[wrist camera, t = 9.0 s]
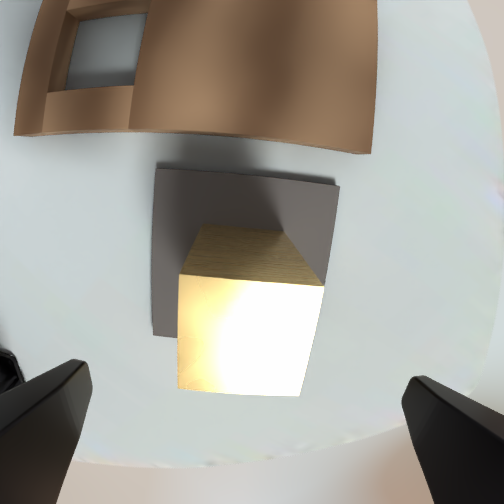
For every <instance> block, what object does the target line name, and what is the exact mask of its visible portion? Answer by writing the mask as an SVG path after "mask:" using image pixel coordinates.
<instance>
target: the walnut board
mask: <svg viewBox="0 0 504 504" xmlns="http://www.w3.org/2000/svg"><path fill="white" fill-rule="evenodd" d="M142 13H148V15H147V19H146V23H145V28H144V32H143V37H142V42H141V47H140V52H139V57H138V63H137V69H136V75H135V81H134V85H130V86H109V87H95V88H84V89H74V90H66V91H65V86H66V80H67V75H68V69H69V64H70V59H71V55H72V50H73V46H74V42H75V38H76V34H77V30H78V26H79V23H80V21H86V20H92V19H98V18H105V17H112V16H121V15H130V14H142ZM377 46H378V21H377V0H43V1H42V4H41V7H40V10H39V13H38V16H37V19H36V23H35V26H34V29H33V33H32V36H31V40H30V44H29V48H28V52H27V56H26V60H25V65H24V69H23V74H22V79H21V84H20V90H19V96H18V103H17V110H16V117H15V126H14V136H29V137H33V136H45V135H58V134H76V133H104V132H152V133H181V134H200V135H215V136H227V137H239V138H249V139H258V140H267V141H275V142H283V143H291V144H298V145H305V146H311V147H318V148H324V149H330V150H336V151H341V152H347V153H352V154H371V147H372V137H373V126H374V113H375V99H376V80H377Z"/></svg>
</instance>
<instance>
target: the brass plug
mask: <svg viewBox="0 0 504 504" xmlns="http://www.w3.org/2000/svg"><path fill="white" fill-rule="evenodd" d="M323 290H324V286H323V285H322V283H321V282H320V280H319V279H318V278H317V276H316V275H315V273H314V272H313V271H312V269H311V268H310V266H309V265H308V264H307V262H306V261H305V259H304V258H303V257H302V255H301V254H300V253H299V251H298V250H297V248H296V247H295V246H294V244H293V243H292V242H291V240H290V239H289V238H288V236H287V235H286V234H285V232H283V231H274V230H264V229H255V228H245V227H235V226H224V225H214V224H203V225H202V227H201V229H200V231H199V233H198V235H197V237H196V239H195V241H194V243H193V246H192V248H191V250H190V252H189V254H188V256H187V258H186V261H185V263H184V265H183V267H182V269H181V271H180V274H179V293H178V346H177V361H178V388H179V389H188V390H198V391H208V392H220V393H235V394H253V395H299V392H300V388H301V384H302V380H303V377H304V373H305V369H306V365H307V361H308V357H309V353H310V348H311V344H312V340H313V336H314V331H315V327H316V322H317V318H318V313H319V309H320V304H321V299H322V294H323Z"/></svg>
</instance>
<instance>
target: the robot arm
mask: <svg viewBox="0 0 504 504" xmlns="http://www.w3.org/2000/svg"><path fill="white" fill-rule="evenodd" d="M92 389H93V387H92V381H91V376H90V372H89V367H88V364H87V363H86V362H85V361H82V360H77V359H71V360H69V361H67V362H65V363H63V364H61V365H59V366H57V367H55V368H53V369H51V370H49V371H47V372H45V373H43V374H41V375H39V376H37V377H35V378H33V379H31V380H29V381H27V382H25V383H23V380H22V377H21V374H20V371H19V368H18V365H17V362H16V360H15V358H14V357H13V356H11V355H8V354H4V353H1V352H0V504H56V502H57V499H58V496H59V493H60V490H61V487H62V484H63V481H64V479H65V476H66V473H67V470H68V467H69V465H70V462H71V459H72V457H73V454H74V451H75V449H76V446H77V444H78V441H79V438H80V435H81V431H82V428H83V424H84V420H85V416H86V412H87V409H88V405H89V402H90V398H91V395H92ZM402 408H403V411H404V415H405V418H406V422H407V425H408V429H409V433H410V436H411V440H412V443H413V446H414V449H415V452H416V454H417V457H418V460H419V462H420V465H421V468H422V470H423V473H424V476H425V479H426V481H427V484H428V487H429V490H430V493H431V495H432V499H433V501H434V504H504V415H502V414H500V413H498V412H496V411H494V410H492V409H490V408H488V407H486V406H484V405H482V404H480V403H478V402H476V401H474V400H472V399H470V398H468V397H466V396H464V395H462V394H460V393H458V392H456V391H454V390H452V389H450V388H448V387H446V386H444V385H442V384H440V383H438V382H436V381H434V380H432V379H431V378H429V377H427V376H424V375H421V376H414V377H412V378H411V379H410V381H409V383H408V385H407V388H406V390H405V392H404V394H403V397H402Z"/></svg>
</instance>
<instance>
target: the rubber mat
mask: <svg viewBox="0 0 504 504" xmlns="http://www.w3.org/2000/svg"><path fill="white" fill-rule="evenodd" d="M339 190H340V186H335V185H328V184H321V183H314V182H306V181H298V180H290V179H282V178H273V177H264V176H255V175H244V174H234V173H222V172H209V171H196V170H180V169H161V168H157V169H156V173H155V187H154V205H153V229H152V318H153V335H155V336H163V337H172V338H178V293H179V274H180V271H181V269H182V267H183V265H184V263H185V261H186V258H187V256H188V254H189V252H190V250H191V248H192V246H193V243H194V241H195V239H196V237H197V235H198V233H199V231H200V229H201V227H202V225H203V224H214V225H224V226H235V227H245V228H255V229H264V230H274V231H283V232H285V234H286V235H287V236H288V238H289V239H290V240H291V242H292V243H293V244H294V246H295V247H296V248H297V250H298V251H299V253H300V254H301V255H302V257H303V258H304V259H305V261H306V262H307V264H308V265H309V266H310V268H311V269H312V271H313V272H314V273H315V275H316V276H317V278H318V279H319V280H320V282H321V283H322V285H323V286H324V284H325V278H326V273H327V267H328V262H329V256H330V250H331V244H332V238H333V232H334V225H335V218H336V212H337V205H338V197H339ZM320 305H321V304H320ZM319 310H320V309H319ZM318 314H319V313H318ZM317 319H318V318H317ZM316 324H317V322H316ZM315 329H316V327H315ZM314 333H315V331H314ZM313 338H314V336H313ZM312 342H313V340H312ZM311 346H312V344H311Z"/></svg>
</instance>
